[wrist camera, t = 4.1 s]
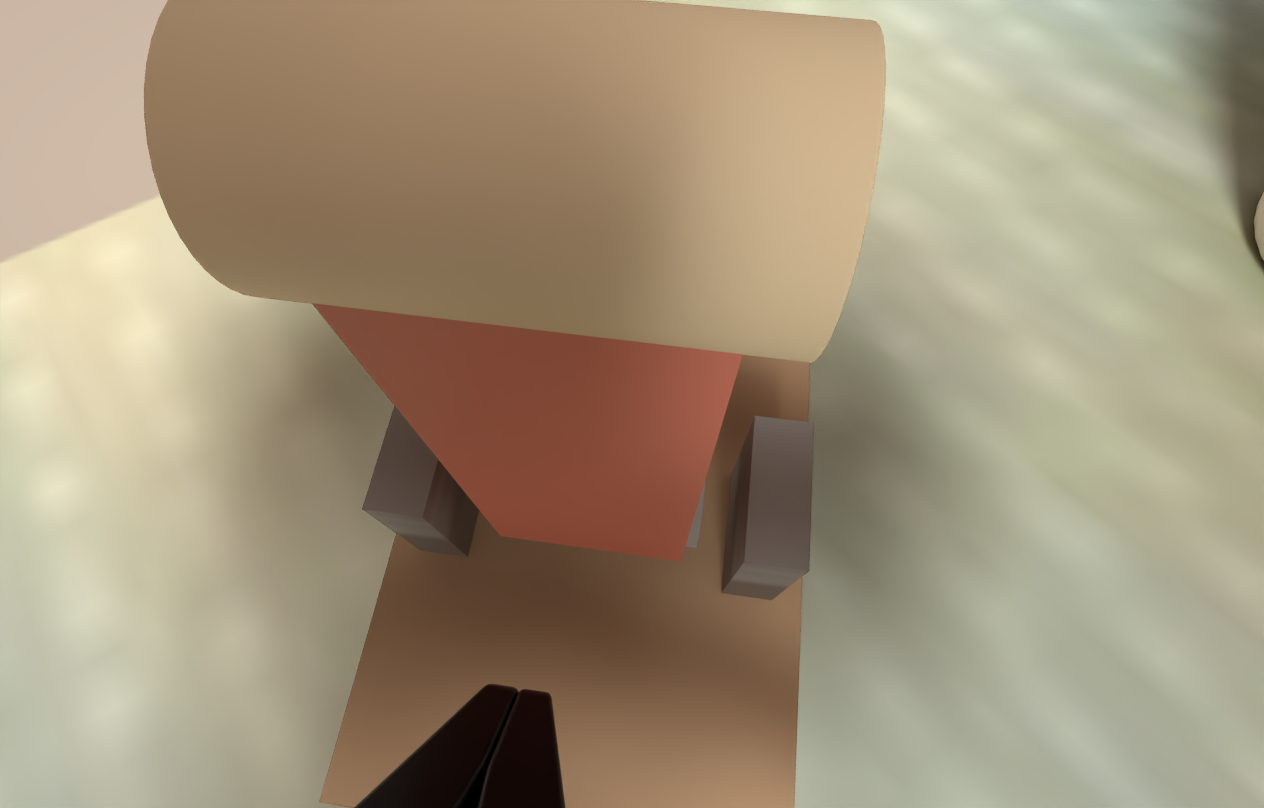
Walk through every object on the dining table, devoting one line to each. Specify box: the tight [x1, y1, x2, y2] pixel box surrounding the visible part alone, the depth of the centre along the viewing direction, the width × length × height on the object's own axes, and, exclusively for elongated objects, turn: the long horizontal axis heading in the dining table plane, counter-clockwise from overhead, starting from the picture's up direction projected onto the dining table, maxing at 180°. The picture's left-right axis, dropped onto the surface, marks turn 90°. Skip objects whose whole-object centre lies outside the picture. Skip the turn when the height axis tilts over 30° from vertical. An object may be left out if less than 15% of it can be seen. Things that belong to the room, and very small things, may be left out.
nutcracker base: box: [319, 355, 814, 808], centre depth 17 cm, size 20×10×5 cm, turn 172°
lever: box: [144, 0, 886, 561], centre depth 10 cm, size 3×5×12 cm, turn 82°
